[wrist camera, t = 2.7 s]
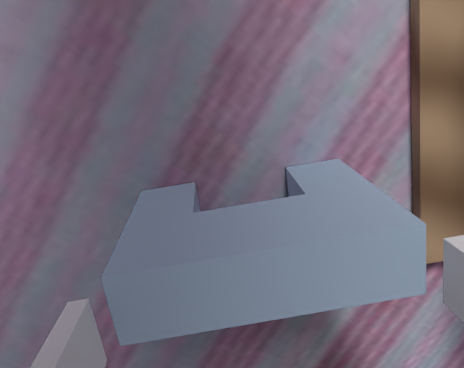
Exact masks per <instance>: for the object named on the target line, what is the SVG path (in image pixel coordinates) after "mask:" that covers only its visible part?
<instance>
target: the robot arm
mask: <svg viewBox="0 0 464 368" xmlns="http://www.w3.org/2000/svg"><path fill="white" fill-rule="evenodd" d="M443 303H444V304H445V305H446V306H447V307H448V308H449V309H450V310H451V311H452V312H453V313H454V314H455V315H456V316H457V317H458V318H459V319H460V320H461V321H462V322H463V323H464V235H461V236H455V237H449V238H444V243H443ZM106 363H107V358H106V355H105V351H104V348H103V344H102V341H101V338H100V334H99V331H98V328H97V324H96V321H95V317H94V314H93V311H92V307H91V304H90V301H89V298H88V299H82V300H76V301H70V302H67V304H66V306H65V308H64V309H63V311H62V313H61V315H60V316H59V318H58V320H57V321H56V323H55V325H54V327H53V328H52V330H51V332H50V334H49V335H48V337H47V339H46V341H45V342H44V344H43V346H42V348H41V349H40V351H39V353H38V354H37V356H36V358H35V360H34V361H33V363H32V365H31V367H30V368H105V366H106Z"/></svg>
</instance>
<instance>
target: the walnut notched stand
mask: <svg viewBox="0 0 464 368" xmlns="http://www.w3.org/2000/svg"><path fill="white" fill-rule="evenodd" d="M410 32H411V124H412V214H414V215H415V216H416V217H418V218H419V219H420V220H422V221H423V222H424V223H426V264H429V263H435V262H441V261H443V243H444V238H449V237H455V236H461V235H464V0H410Z"/></svg>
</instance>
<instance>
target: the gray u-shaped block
mask: <svg viewBox="0 0 464 368" xmlns="http://www.w3.org/2000/svg"><path fill="white" fill-rule="evenodd" d="M285 168H286V177H287V185H288V194H289V197H285V198H279V199H273V200H266V201H260V202H254V203H248V204H242V205H236V206H230V207H224V208H218V209H212V210H206V211H201V210H200V205H199V199H198V194H197V189H196V183H195V182H192V183H186V184H180V185H174V186H168V187H162V188H155V189H149V190H143V191H141V193H140V195H139V197H138V199H137V202H136V204H135V206H134V208H133V210H132V212H131V214H130V216H129V219H128V221H127V223H126V225H125V227H124V229H123V231H122V234H121V236H120V238H119V240H118V242H117V244H116V246H115V249H114V251H113V253H112V255H111V257H110V259H109V261H108V263H107V266H106V268H105V270H104V272H103V274H102V276H101V278H100V279H101V282H102V285H103V289H104V292H105V296H106V299H107V303H108V306H109V310H110V313H111V317H112V320H113V324H114V327H115V331H116V334H117V338H118V341H119V345H120V346H125V345H131V344H137V343H143V342H149V341H155V340H160V339H166V338H172V337H178V336H184V335H190V334H195V333H201V332H207V331H213V330H219V329H225V328H230V327H236V326H242V325H248V324H254V323H260V322H265V321H271V320H277V319H283V318H289V317H295V316H300V315H306V314H312V313H318V312H324V311H330V310H336V309H341V308H347V307H353V306H359V305H365V304H371V303H376V302H382V301H388V300H394V299H400V298H406V297H411V296H417V295H423V294H426V223H424V222H423V221H422V220H420V219H419V218H418V217H416V216H415V215H414V214H412V213H411V212H410V211H408V210H407V209H406V208H404V207H403V206H402V205H400V204H399V203H398V202H396V201H395V200H394V199H392V198H391V197H389V196H388V195H387V194H385V193H384V192H383V191H381V190H380V189H379V188H377V187H376V186H375V185H373V184H372V183H371V182H369V181H368V180H367V179H365V178H364V177H363V176H361V175H360V174H359V173H357V172H356V171H355V170H353V169H352V168H350V167H349V166H348V165H346V164H345V163H344V162H342V161H341V160H340V159H332V160H326V161H320V162H314V163H308V164H302V165H296V166H290V167H285Z"/></svg>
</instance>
